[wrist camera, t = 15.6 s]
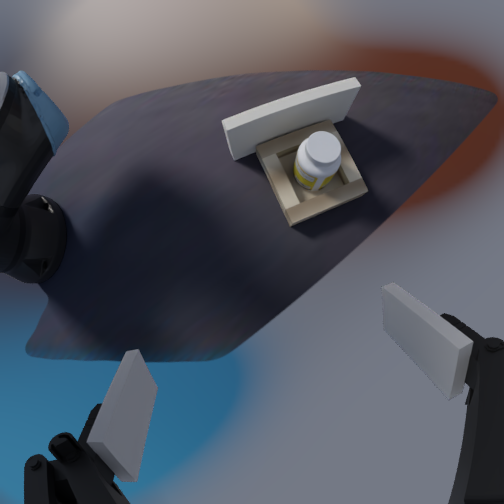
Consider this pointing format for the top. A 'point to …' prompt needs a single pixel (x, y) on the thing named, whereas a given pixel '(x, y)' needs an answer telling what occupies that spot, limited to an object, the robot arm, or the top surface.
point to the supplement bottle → (317, 161)
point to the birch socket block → (290, 193)
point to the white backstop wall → (288, 115)
